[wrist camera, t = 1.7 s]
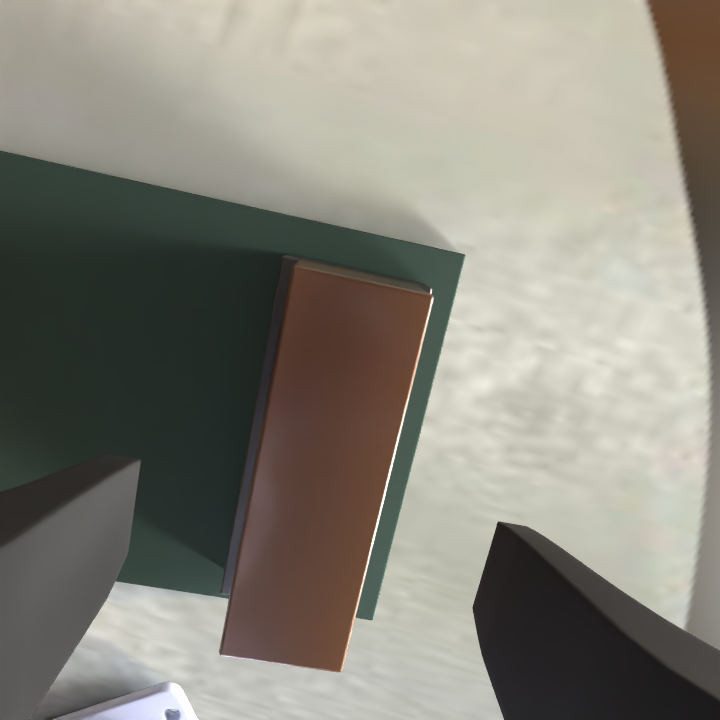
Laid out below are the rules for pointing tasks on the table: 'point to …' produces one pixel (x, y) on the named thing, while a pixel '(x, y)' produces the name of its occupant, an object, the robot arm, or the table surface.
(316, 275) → the brush
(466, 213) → the table surface
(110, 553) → the robot arm
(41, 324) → the mat
